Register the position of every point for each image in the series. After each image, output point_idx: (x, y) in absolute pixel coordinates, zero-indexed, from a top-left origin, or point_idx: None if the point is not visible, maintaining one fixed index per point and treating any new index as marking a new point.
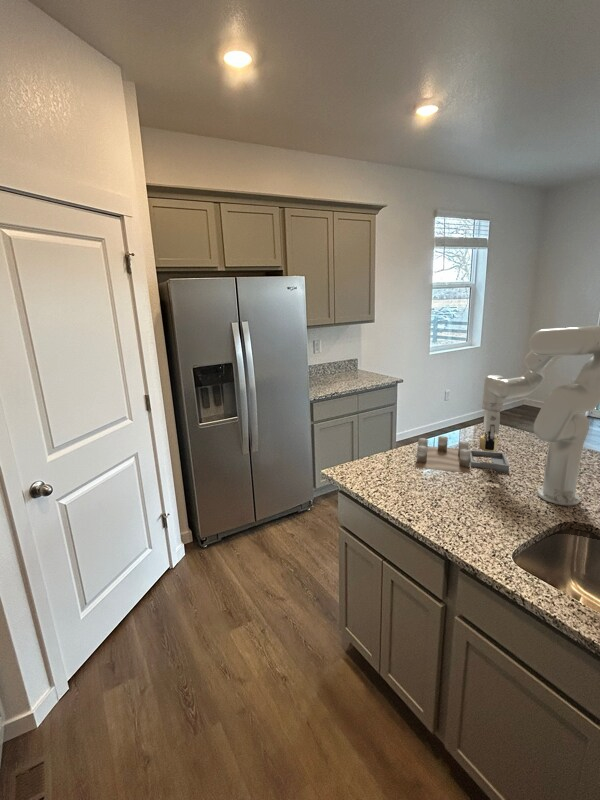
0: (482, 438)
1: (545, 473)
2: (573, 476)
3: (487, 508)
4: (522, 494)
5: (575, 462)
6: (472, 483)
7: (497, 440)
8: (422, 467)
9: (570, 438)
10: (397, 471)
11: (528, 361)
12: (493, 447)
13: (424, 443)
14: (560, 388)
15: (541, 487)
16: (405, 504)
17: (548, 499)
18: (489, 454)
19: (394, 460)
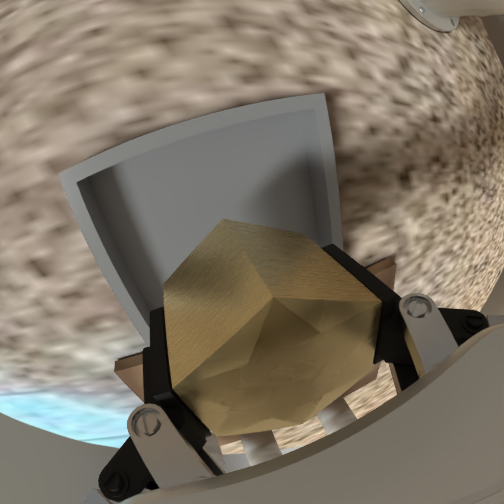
0: (332, 399)
1: (501, 14)
2: None
3: (495, 174)
4: (447, 75)
5: None
6: (427, 230)
7: (288, 282)
8: (373, 374)
9: None
10: (377, 387)
11: None
12: (346, 257)
13: (281, 455)
14: None
15: (412, 2)
16: (477, 300)
17: (458, 21)
18: (116, 257)
19: (319, 424)
